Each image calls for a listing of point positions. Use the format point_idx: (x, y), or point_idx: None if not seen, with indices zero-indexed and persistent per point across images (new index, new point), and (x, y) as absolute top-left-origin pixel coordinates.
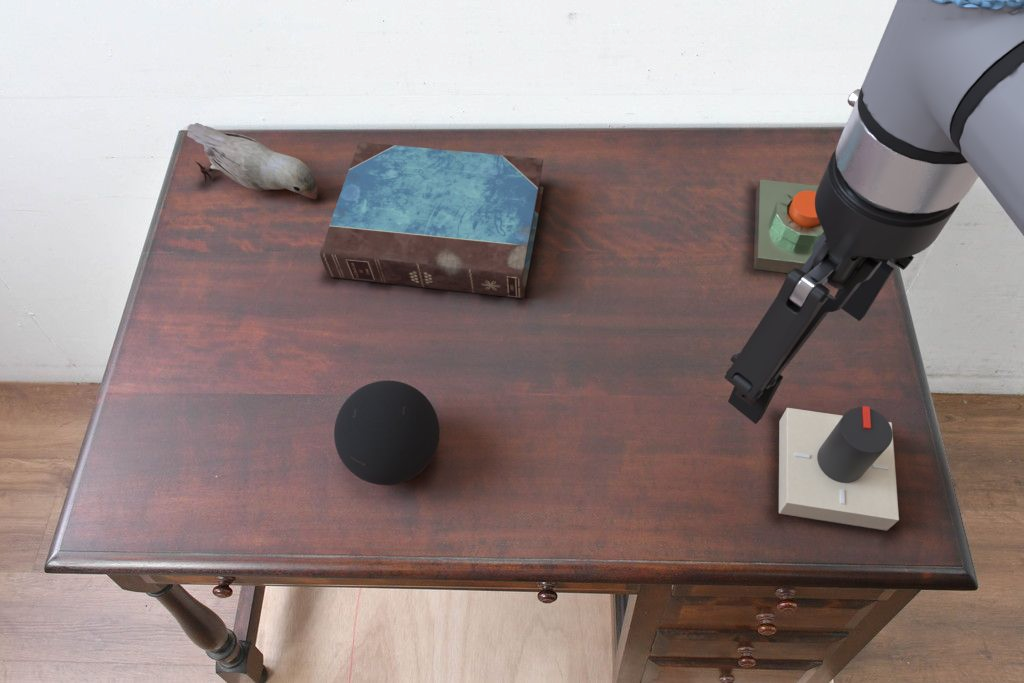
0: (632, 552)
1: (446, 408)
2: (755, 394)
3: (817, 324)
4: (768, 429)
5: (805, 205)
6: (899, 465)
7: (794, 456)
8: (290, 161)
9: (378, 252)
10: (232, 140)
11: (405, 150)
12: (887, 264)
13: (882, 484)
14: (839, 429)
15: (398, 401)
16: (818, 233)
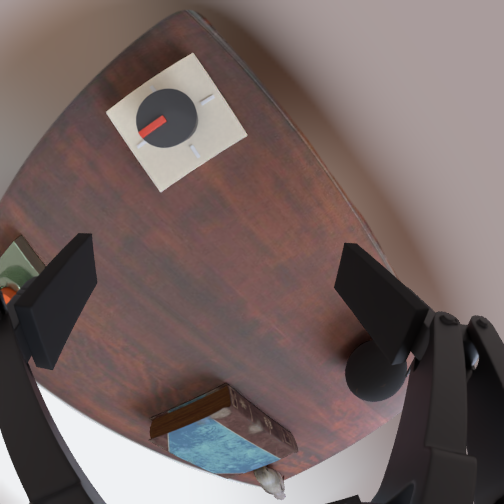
0: (343, 207)
1: (325, 356)
2: (494, 328)
3: (447, 416)
4: (178, 188)
5: None
6: (129, 85)
7: (200, 156)
8: (264, 482)
9: (277, 443)
10: (274, 492)
11: (212, 470)
12: (18, 319)
13: (169, 80)
14: (184, 140)
15: (380, 391)
16: (14, 283)
